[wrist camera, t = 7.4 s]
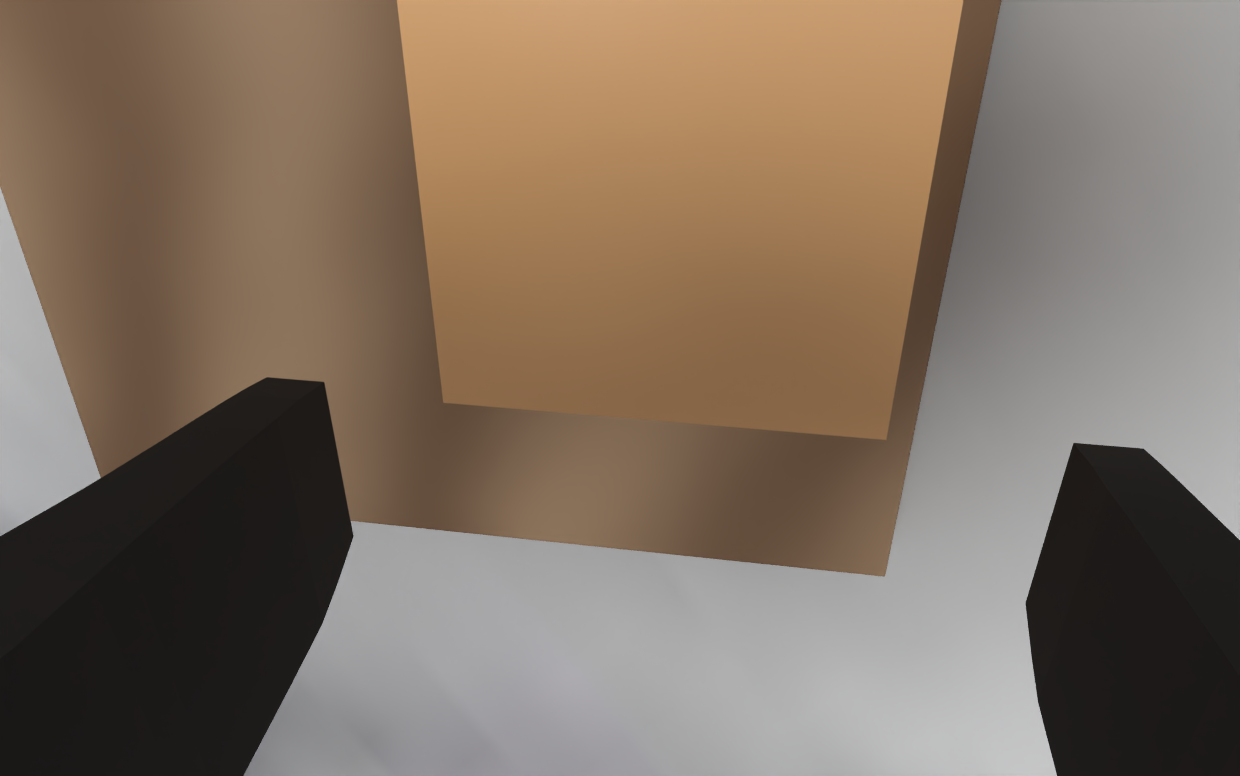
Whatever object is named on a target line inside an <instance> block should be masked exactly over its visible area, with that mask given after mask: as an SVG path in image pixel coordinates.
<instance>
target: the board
mask: <svg viewBox="0 0 1240 776" xmlns="http://www.w3.org/2000/svg"><path fill="white" fill-rule="evenodd" d="M1000 5H1001V0H963V6H962V11H961V17H960V23H959V29H958V34H957V40H956V46H955V51H954V57H953V63H952V68H951V74H950V80H949V86H948V91H947V97H946V103H945V108H944V114H943V120H942V125H941V131H940V137H939V143H938V148H937V154H936V160H935V165H934V171H933V177H932V182H931V188H930V194H929V200H928V205H927V211H926V217H925V222H924V228H923V234H922V239H921V245H920V251H919V257H918V262H917V268H916V274H915V279H914V285H913V291H912V296H911V302H910V308H909V314H908V319H907V325H906V331H905V336H904V342H903V348H902V353H901V359H900V365H899V371H898V376H897V382H896V388H895V393H894V399H893V405H892V411H891V416H890V422H889V428H888V433H887V439H886V440H880V439H868V438H856V437H844V436H832V435H821V434H809V433H797V432H785V431H773V430H761V429H749V428H737V427H725V426H714V425H702V424H690V423H678V422H666V421H654V420H642V419H630V418H618V417H606V416H595V415H583V414H571V413H559V412H547V411H535V410H523V409H511V408H499V407H487V406H476V405H464V404H452V403H443V396H442V387H441V379H440V370H439V361H438V353H437V344H436V335H435V327H434V318H433V309H432V301H431V292H430V283H429V275H428V266H427V257H426V249H425V240H424V231H423V223H422V214H421V205H420V197H419V188H418V179H417V171H416V162H415V153H414V145H413V136H412V127H411V119H410V110H409V101H408V93H407V84H406V75H405V67H404V58H403V49H402V41H401V32H400V23H399V15H398V6H397V0H0V187H1V190H2V193H3V196H4V199H5V202H6V204H7V207H8V210H9V213H10V216H11V219H12V222H13V225H14V228H15V230H16V233H17V236H18V239H19V242H20V245H21V248H22V251H23V254H24V257H25V259H26V262H27V265H28V268H29V271H30V274H31V277H32V280H33V283H34V285H35V288H36V291H37V294H38V297H39V300H40V303H41V306H42V309H43V312H44V314H45V317H46V320H47V323H48V326H49V329H50V332H51V335H52V338H53V340H54V343H55V346H56V349H57V352H58V355H59V358H60V361H61V364H62V367H63V369H64V372H65V375H66V378H67V381H68V384H69V387H70V390H71V393H72V395H73V398H74V401H75V404H76V407H77V410H78V413H79V416H80V419H81V422H82V424H83V427H84V430H85V433H86V436H87V439H88V442H89V445H90V448H91V450H92V453H93V456H94V459H95V462H96V465H97V468H98V471H99V474H100V477H101V478H102V477H104V476H105V475H107V474H108V473H110V472H112V471H113V470H115V469H116V468H118V467H120V466H121V465H123V464H124V463H126V462H128V461H129V460H131V459H132V458H134V457H136V456H137V455H139V454H140V453H142V452H144V451H145V450H147V449H149V448H150V447H152V446H153V445H155V444H157V443H158V442H160V441H161V440H163V439H165V438H166V437H168V436H169V435H171V434H172V433H174V432H176V431H177V430H179V429H180V428H182V427H184V426H185V425H187V424H188V423H190V422H191V421H193V420H195V419H196V418H198V417H199V416H201V415H203V414H204V413H206V412H207V411H209V410H211V409H212V408H214V407H215V406H217V405H219V404H220V403H222V402H224V401H225V400H227V399H229V398H230V397H232V396H234V395H235V394H237V393H239V392H240V391H242V390H244V389H246V388H247V387H249V386H251V385H253V384H255V383H257V382H259V381H260V380H262V379H264V378H266V377H271V378H283V379H295V380H308V381H320V382H324V383H325V388H326V394H327V399H328V404H329V409H330V415H331V420H332V425H333V431H334V436H335V441H336V447H337V452H338V457H339V463H340V468H341V473H342V478H343V484H344V489H345V494H346V500H347V505H348V510H349V516H350V521H359V522H368V523H378V524H387V525H397V526H406V527H416V528H426V529H435V530H445V531H454V532H464V533H473V534H483V535H493V536H502V537H512V538H521V539H531V540H540V541H550V542H560V543H569V544H579V545H588V546H598V547H607V548H617V549H627V550H636V551H646V552H655V553H665V554H674V555H684V556H694V557H703V558H713V559H722V560H732V561H741V562H751V563H761V564H770V565H780V566H789V567H799V568H808V569H818V570H828V571H837V572H847V573H856V574H866V575H875V576H885V574H886V569H887V564H888V559H889V554H890V549H891V544H892V539H893V534H894V529H895V524H896V519H897V514H898V509H899V504H900V499H901V494H902V489H903V484H904V480H905V475H906V470H907V465H908V460H909V455H910V450H911V445H912V440H913V435H914V430H915V425H916V420H917V415H918V410H919V405H920V400H921V395H922V390H923V386H924V381H925V376H926V371H927V366H928V361H929V356H930V351H931V346H932V341H933V336H934V331H935V326H936V321H937V316H938V311H939V306H940V301H941V296H942V292H943V287H944V282H945V277H946V272H947V267H948V262H949V257H950V252H951V247H952V242H953V237H954V232H955V227H956V222H957V217H958V212H959V207H960V202H961V198H962V193H963V188H964V183H965V178H966V173H967V168H968V163H969V158H970V153H971V148H972V143H973V138H974V133H975V128H976V123H977V118H978V113H979V108H980V104H981V99H982V94H983V89H984V84H985V79H986V74H987V69H988V64H989V59H990V54H991V49H992V44H993V39H994V34H995V29H996V24H997V19H998V14H999V10H1000Z"/></svg>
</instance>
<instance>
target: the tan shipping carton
mask: <svg viewBox="0 0 1240 776" xmlns="http://www.w3.org/2000/svg"><path fill="white" fill-rule="evenodd" d="M397 6H398V15H399V23H400V32H401V41H402V49H403V58H404V67H405V75H406V84H407V93H408V101H409V110H410V119H411V127H412V136H413V145H414V153H415V162H416V171H417V179H418V188H419V197H420V205H421V214H422V223H423V231H424V240H425V249H426V257H427V266H428V275H429V283H430V292H431V301H432V309H433V318H434V327H435V335H436V344H437V353H438V361H439V370H440V379H441V387H442V396H443V403H452V404H464V405H476V406H487V407H499V408H511V409H523V410H535V411H547V412H559V413H571V414H583V415H595V416H606V417H618V418H630V419H642V420H654V421H666V422H678V423H690V424H702V425H714V426H725V427H737V428H749V429H761V430H773V431H785V432H797V433H809V434H821V435H832V436H844V437H856V438H868V439H880V440H886V439H887V433H888V428H889V422H890V416H891V411H892V405H893V399H894V393H895V388H896V382H897V376H898V371H899V365H900V359H901V353H902V348H903V342H904V336H905V331H906V325H907V319H908V314H909V308H910V302H911V296H912V291H913V285H914V279H915V274H916V268H917V262H918V257H919V251H920V245H921V239H922V234H923V228H924V222H925V217H926V211H927V205H928V200H929V194H930V188H931V182H932V177H933V171H934V165H935V160H936V154H937V148H938V143H939V137H940V131H941V125H942V120H943V114H944V108H945V103H946V97H947V91H948V86H949V80H950V74H951V68H952V63H953V57H954V51H955V46H956V40H957V34H958V29H959V23H960V17H961V11H962V6H963V0H397Z"/></svg>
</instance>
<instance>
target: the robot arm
mask: <svg viewBox="0 0 1240 776" xmlns="http://www.w3.org/2000/svg"><path fill="white" fill-rule="evenodd" d="M352 539H353V532H352V526H351V521H350V516H349V510H348V505H347V500H346V494H345V489H344V484H343V478H342V473H341V468H340V463H339V457H338V452H337V447H336V441H335V436H334V431H333V425H332V420H331V415H330V409H329V404H328V399H327V394H326V388H325V383H324V382H320V381H308V380H295V379H283V378H271V377H266V378H264V379H262V380H260V381H259V382H257V383H255V384H253V385H251V386H249V387H247V388H246V389H244V390H242V391H240V392H239V393H237V394H235V395H234V396H232V397H230V398H229V399H227V400H225V401H224V402H222V403H220V404H219V405H217V406H215V407H214V408H212V409H211V410H209V411H207V412H206V413H204V414H203V415H201V416H199V417H198V418H196V419H195V420H193V421H191V422H190V423H188V424H187V425H185V426H184V427H182V428H180V429H179V430H177V431H176V432H174V433H172V434H171V435H169V436H168V437H166V438H165V439H163V440H161V441H160V442H158V443H157V444H155V445H153V446H152V447H150V448H149V449H147V450H145V451H144V452H142V453H140V454H139V455H137V456H136V457H134V458H132V459H131V460H129V461H128V462H126V463H124V464H123V465H121V466H120V467H118V468H116V469H115V470H113V471H112V472H110V473H108V474H107V475H105V476H104V477H102V478H100V479H99V480H97V481H95V482H94V483H92V484H91V485H89V486H87V487H86V488H84V489H82V490H81V491H79V492H77V493H75V494H74V495H72V496H70V497H68V498H67V499H65V500H63V501H61V502H60V503H58V504H56V505H54V506H53V507H51V508H49V509H47V510H46V511H44V512H42V513H40V514H39V515H37V516H35V517H33V518H32V519H30V520H28V521H26V522H25V523H23V524H21V525H19V526H18V527H16V528H14V529H12V530H11V531H9V532H7V533H5V534H4V535H2V536H0V776H243V775H244V773H245V771H246V769H247V768H248V766H249V764H250V762H251V760H252V758H253V756H254V754H255V752H256V750H257V749H258V747H259V745H260V743H261V741H262V739H263V737H264V735H265V733H266V731H267V730H268V728H269V726H270V724H271V722H272V720H273V718H274V716H275V714H276V712H277V711H278V709H279V707H280V705H281V703H282V701H283V699H284V697H285V695H286V693H287V692H288V690H289V688H290V686H291V684H292V682H293V680H294V678H295V676H296V674H297V672H298V670H299V668H300V666H301V664H302V662H303V660H304V659H305V657H306V655H307V653H308V651H309V649H310V647H311V645H312V643H313V641H314V639H315V637H316V635H317V633H318V631H319V629H320V627H321V625H322V623H323V620H324V618H325V615H326V612H327V610H328V607H329V604H330V602H331V599H332V596H333V594H334V591H335V588H336V586H337V583H338V580H339V577H340V574H341V571H342V568H343V565H344V563H345V560H346V557H347V554H348V551H349V548H350V545H351V542H352ZM1026 611H1027V619H1028V628H1029V637H1030V645H1031V654H1032V662H1033V669H1034V676H1035V683H1036V690H1037V697H1038V703H1039V707H1040V711H1041V715H1042V719H1043V723H1044V727H1045V731H1046V735H1047V738H1048V742H1049V746H1050V750H1051V754H1052V757H1053V761H1054V765H1055V769H1056V773H1057V776H1240V540H1239V539H1238V538H1237V537H1236V536H1235V535H1234V534H1233V533H1232V532H1231V531H1230V530H1229V529H1228V528H1226V527H1225V526H1224V525H1223V524H1222V523H1221V522H1220V521H1219V520H1218V519H1217V518H1216V517H1215V516H1214V515H1213V514H1212V513H1211V512H1210V511H1209V510H1208V509H1207V508H1206V507H1205V506H1204V505H1203V504H1202V503H1201V502H1200V501H1199V500H1198V499H1197V498H1196V497H1195V496H1193V495H1192V494H1191V493H1190V492H1189V491H1188V490H1187V489H1186V488H1185V487H1184V486H1183V485H1182V484H1181V483H1180V482H1179V481H1178V480H1177V479H1176V478H1175V477H1174V476H1173V475H1172V474H1171V473H1170V472H1169V471H1167V470H1166V469H1165V468H1164V467H1163V466H1162V465H1161V464H1160V463H1159V462H1158V461H1157V460H1155V459H1154V458H1153V457H1152V456H1151V455H1150V454H1149V453H1148V452H1146V451H1145V450H1144V449H1140V448H1128V447H1116V446H1103V445H1091V444H1079V443H1073V447H1072V450H1071V453H1070V457H1069V460H1068V463H1067V467H1066V470H1065V473H1064V477H1063V480H1062V483H1061V487H1060V490H1059V493H1058V497H1057V500H1056V503H1055V507H1054V510H1053V513H1052V517H1051V520H1050V523H1049V527H1048V530H1047V533H1046V537H1045V540H1044V543H1043V547H1042V550H1041V554H1040V557H1039V560H1038V564H1037V567H1036V570H1035V574H1034V577H1033V580H1032V584H1031V587H1030V590H1029V594H1028V597H1027V600H1026Z"/></svg>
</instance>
